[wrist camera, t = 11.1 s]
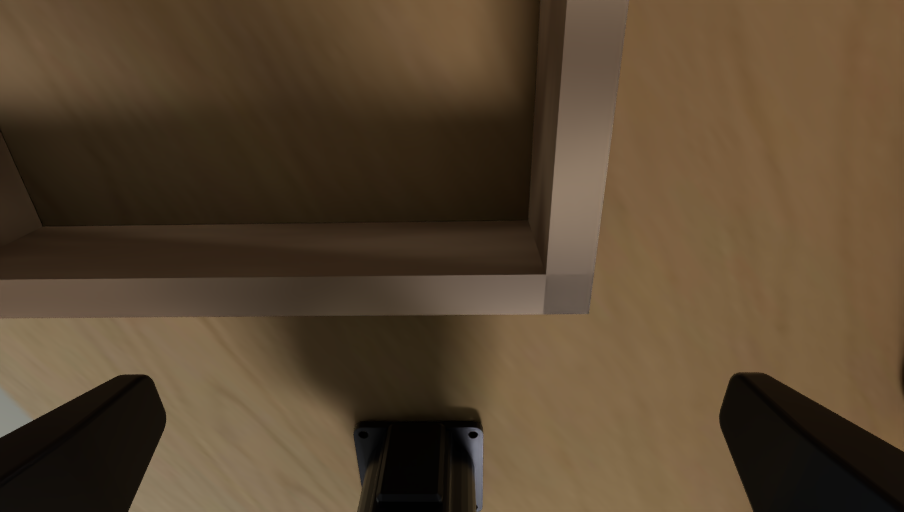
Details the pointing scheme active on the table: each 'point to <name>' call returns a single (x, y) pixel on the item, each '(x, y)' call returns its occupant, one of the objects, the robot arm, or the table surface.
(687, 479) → the table surface
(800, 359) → the table surface
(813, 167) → the table surface
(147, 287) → the walnut pen
